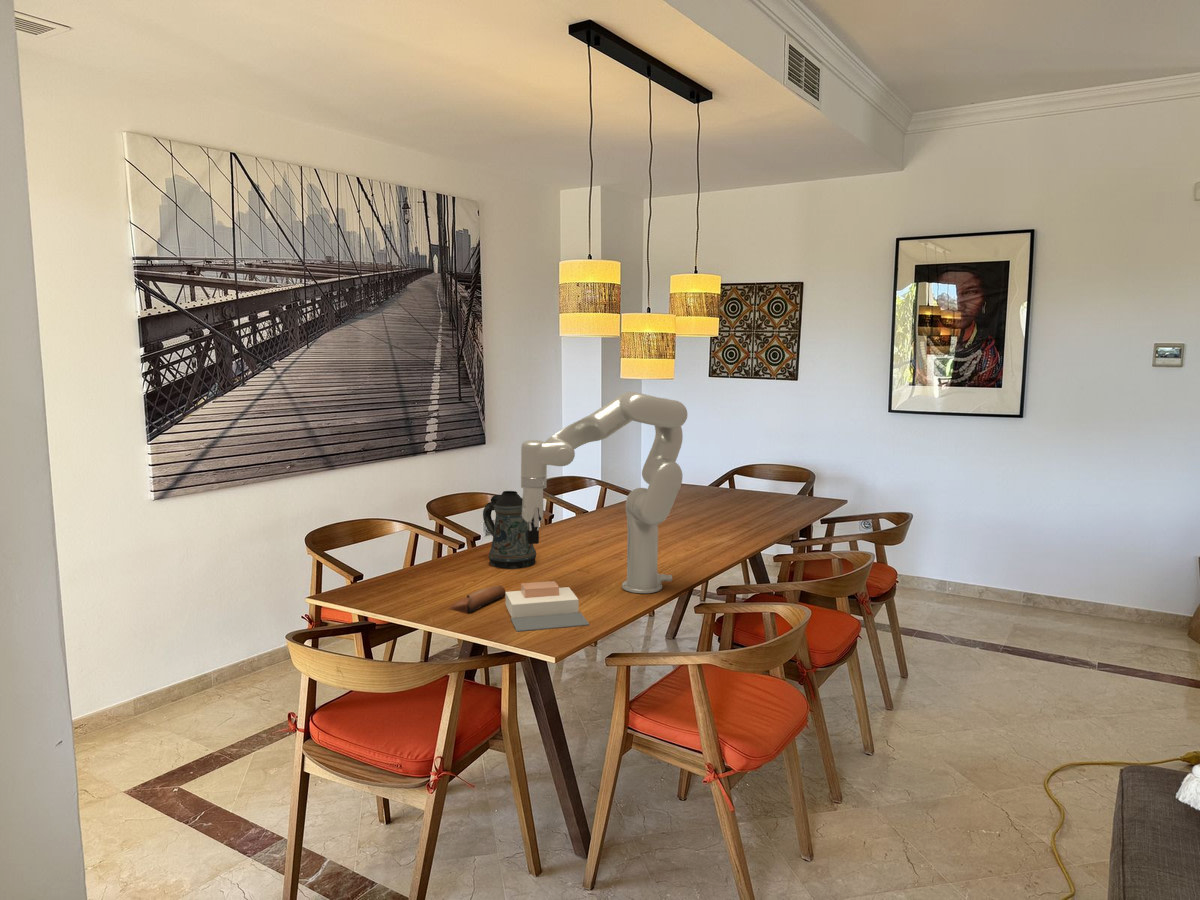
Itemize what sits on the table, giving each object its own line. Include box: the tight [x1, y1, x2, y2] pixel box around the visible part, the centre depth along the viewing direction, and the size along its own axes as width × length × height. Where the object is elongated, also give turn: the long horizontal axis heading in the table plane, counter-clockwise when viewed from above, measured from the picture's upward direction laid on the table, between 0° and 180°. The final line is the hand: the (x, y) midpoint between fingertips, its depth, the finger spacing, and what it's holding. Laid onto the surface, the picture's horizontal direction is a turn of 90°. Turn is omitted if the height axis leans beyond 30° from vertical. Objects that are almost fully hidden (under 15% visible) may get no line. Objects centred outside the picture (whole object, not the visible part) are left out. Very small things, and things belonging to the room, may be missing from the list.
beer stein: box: [482, 490, 537, 570], centre depth 281 cm, size 16×19×25 cm
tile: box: [520, 580, 560, 598], centre depth 235 cm, size 10×6×2 cm, turn 105°
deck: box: [504, 586, 580, 618], centre depth 234 cm, size 19×12×4 cm, turn 105°
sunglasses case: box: [448, 585, 507, 615], centre depth 238 cm, size 18×7×7 cm
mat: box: [510, 611, 591, 633], centre depth 223 cm, size 20×10×1 cm, turn 105°
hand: (533, 543), depth 242 cm, fingers closed
